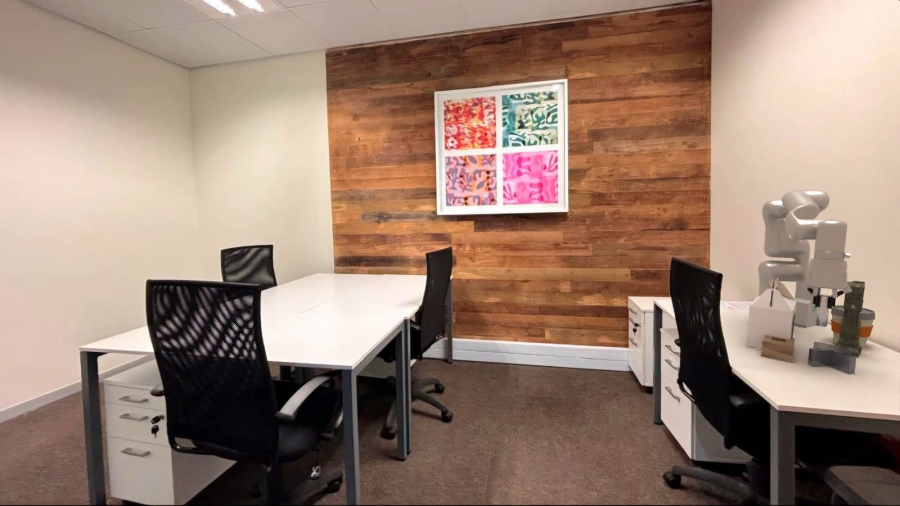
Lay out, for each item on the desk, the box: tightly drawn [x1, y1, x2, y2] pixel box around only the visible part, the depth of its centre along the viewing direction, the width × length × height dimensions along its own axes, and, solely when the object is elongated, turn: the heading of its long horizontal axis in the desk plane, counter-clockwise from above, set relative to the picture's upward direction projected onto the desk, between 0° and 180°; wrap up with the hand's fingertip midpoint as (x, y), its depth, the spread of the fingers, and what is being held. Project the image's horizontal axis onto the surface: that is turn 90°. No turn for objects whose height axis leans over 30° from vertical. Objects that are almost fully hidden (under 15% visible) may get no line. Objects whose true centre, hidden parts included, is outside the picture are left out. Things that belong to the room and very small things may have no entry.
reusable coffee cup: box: [830, 304, 876, 349], centre depth 158 cm, size 12×13×15 cm
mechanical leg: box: [835, 280, 866, 358], centre depth 148 cm, size 14×7×30 cm, turn 134°
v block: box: [807, 341, 857, 374], centre depth 139 cm, size 12×12×6 cm
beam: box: [760, 335, 796, 363], centre depth 149 cm, size 12×9×6 cm
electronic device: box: [794, 261, 822, 328], centre depth 183 cm, size 12×8×30 cm, turn 114°
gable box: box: [745, 276, 797, 350], centre depth 160 cm, size 22×13×28 cm, turn 135°
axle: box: [815, 294, 831, 328], centre depth 137 cm, size 3×3×11 cm
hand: (823, 306), depth 137 cm, fingers closed on axle, 3 cm apart
